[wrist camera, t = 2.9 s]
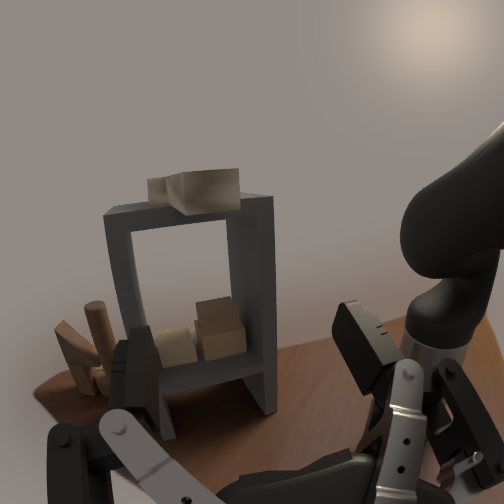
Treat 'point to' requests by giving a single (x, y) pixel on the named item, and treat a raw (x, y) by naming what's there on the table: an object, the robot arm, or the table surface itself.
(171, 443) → the table surface
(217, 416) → the table surface
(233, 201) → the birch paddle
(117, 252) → the frame
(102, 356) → the wooden block
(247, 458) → the table surface
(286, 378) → the table surface
